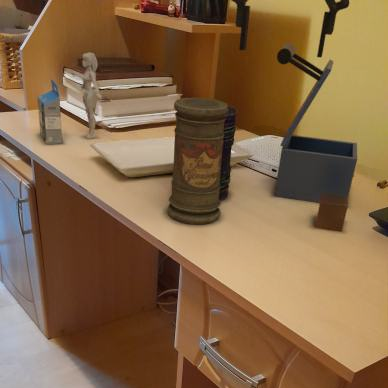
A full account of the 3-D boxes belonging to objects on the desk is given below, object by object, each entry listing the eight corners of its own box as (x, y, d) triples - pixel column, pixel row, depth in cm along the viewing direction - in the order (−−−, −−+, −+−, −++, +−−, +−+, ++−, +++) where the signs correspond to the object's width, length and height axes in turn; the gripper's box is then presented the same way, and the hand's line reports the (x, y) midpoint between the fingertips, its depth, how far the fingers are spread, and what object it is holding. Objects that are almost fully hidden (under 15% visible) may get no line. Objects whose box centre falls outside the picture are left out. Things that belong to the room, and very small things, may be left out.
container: (161, 207, 92) (164, 96, 81) (208, 203, 94) (216, 96, 84) (177, 227, 85) (183, 109, 74) (227, 222, 88) (239, 108, 77)
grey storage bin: (346, 187, 107) (357, 142, 101) (345, 206, 97) (357, 159, 92) (281, 178, 109) (288, 134, 104) (274, 196, 100) (281, 149, 95)
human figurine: (77, 131, 129) (71, 48, 118) (91, 130, 130) (87, 48, 120) (94, 144, 121) (89, 56, 110) (109, 143, 122) (106, 56, 112)
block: (342, 221, 91) (348, 196, 89) (341, 231, 88) (347, 205, 85) (316, 217, 92) (321, 193, 89) (315, 227, 88) (320, 201, 86)
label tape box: (39, 134, 124) (33, 77, 117) (56, 133, 126) (51, 77, 119) (46, 144, 118) (40, 85, 111) (64, 143, 119) (59, 85, 112)
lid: (333, 61, 95) (291, 34, 94) (331, 70, 86) (284, 39, 85) (290, 132, 103) (250, 108, 103) (283, 147, 94) (240, 120, 94)
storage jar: (214, 182, 104) (221, 102, 95) (238, 199, 97) (247, 114, 88) (168, 187, 100) (171, 103, 91) (190, 205, 93) (195, 116, 84)
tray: (254, 169, 113) (256, 152, 111) (119, 185, 99) (118, 166, 97) (214, 147, 124) (216, 132, 122) (89, 159, 111) (88, 142, 109)
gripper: (385, -100, 79) (352, 56, 92) (226, -106, 84) (216, 44, 96) (387, -107, 74) (352, 62, 86) (216, -113, 78) (207, 48, 90)
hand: (280, 53), depth 91 cm, fingers open, 13 cm apart
